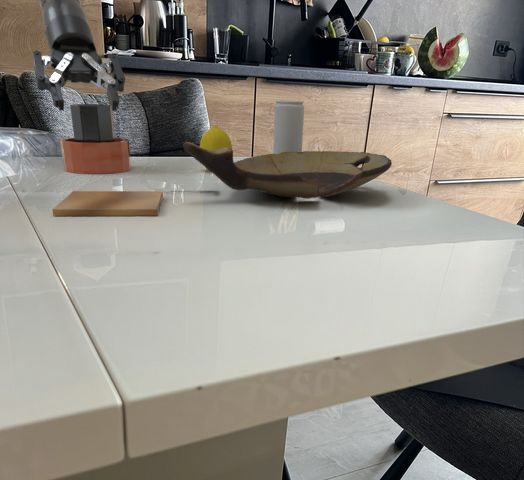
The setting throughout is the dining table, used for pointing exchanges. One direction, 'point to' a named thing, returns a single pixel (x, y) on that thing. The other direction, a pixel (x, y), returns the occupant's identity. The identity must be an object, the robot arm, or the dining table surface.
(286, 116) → the beverage can
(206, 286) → the dining table surface
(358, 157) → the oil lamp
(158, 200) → the cork trivet
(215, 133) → the lemon
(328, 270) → the dining table surface
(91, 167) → the terracotta pot
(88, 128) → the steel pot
